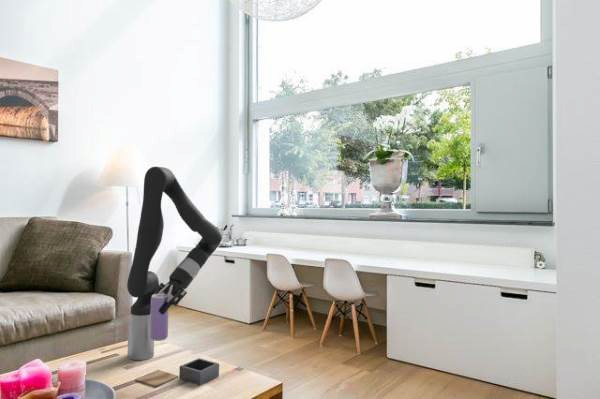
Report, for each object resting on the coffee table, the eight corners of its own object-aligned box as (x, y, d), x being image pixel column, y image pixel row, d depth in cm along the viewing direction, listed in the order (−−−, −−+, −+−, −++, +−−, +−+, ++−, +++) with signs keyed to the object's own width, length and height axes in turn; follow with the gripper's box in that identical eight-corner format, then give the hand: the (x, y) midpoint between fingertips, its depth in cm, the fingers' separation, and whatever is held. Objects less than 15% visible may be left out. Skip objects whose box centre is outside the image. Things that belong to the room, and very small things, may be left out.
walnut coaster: (135, 380, 149) (135, 379, 149) (158, 371, 158) (158, 369, 158) (156, 387, 144) (156, 385, 144) (178, 377, 153) (178, 375, 153)
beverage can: (162, 342, 148) (163, 297, 148) (146, 340, 149) (147, 296, 149) (170, 336, 154) (172, 294, 154) (155, 335, 155) (156, 293, 155)
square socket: (179, 379, 152) (179, 366, 152) (198, 370, 160) (198, 358, 160) (200, 385, 147) (200, 372, 147) (218, 376, 155) (219, 363, 155)
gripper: (167, 264, 162) (137, 301, 153) (191, 268, 153) (160, 308, 143) (179, 276, 166) (150, 313, 157) (203, 282, 157) (173, 321, 147)
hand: (155, 311), depth 150 cm, fingers closed on beverage can, 6 cm apart
